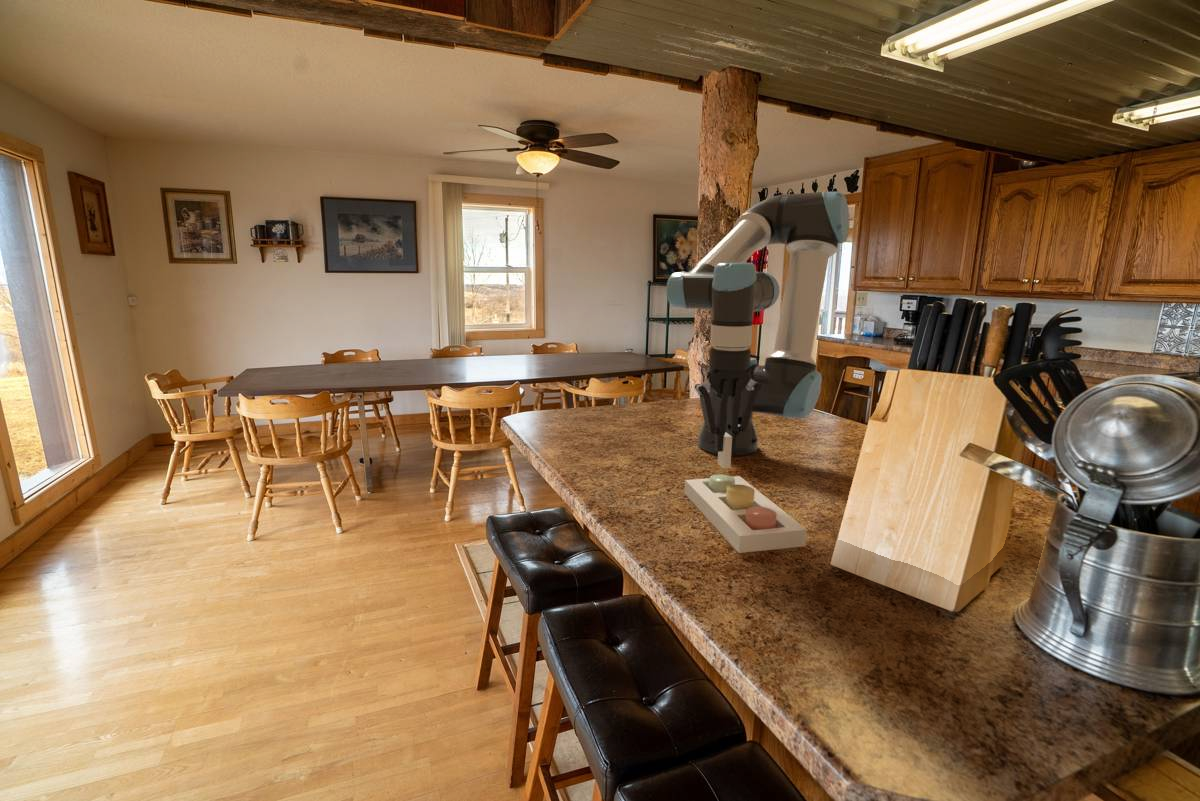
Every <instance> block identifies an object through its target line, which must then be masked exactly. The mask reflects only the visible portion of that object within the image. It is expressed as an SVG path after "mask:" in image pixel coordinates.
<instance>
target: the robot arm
mask: <svg viewBox="0 0 1200 801" xmlns="http://www.w3.org/2000/svg"><path fill="white" fill-rule="evenodd" d="M848 205H849V204H848V201H847V198H846V196H845V194H844V193H843V192H840V191H826V190H822V191H819V192H818V191H817V192H816V191H815V192H805V193H792V194H791V193H790V194H778V195H774V196H771V197H769V198H766V199H764V200H762V201H760V202H758V203H757V204H754V205H753V206H751V207H750V208H748V209H747V210H746V211H745V212H743V213H742V214H741V215H740V216H739V217H738V218H737V219H736V221H735V222H734V223H733V228H732V229H731V230H730V231H729V232H728V233H727V234H726V235H725V236H724V237H723V238H722V239H721V240H720V241H719V242H718V243H717V244H716V245H715V246H714V247H713V248H712V249H711V250H709V252H708V253H707V254H706V255H705V256H704V257H703V258H702V259H701V260H700V261H699V262H698V263H696V265H695V266H694V267H693V268H692V269H690V271H679V272H678V271H677V272H673V273H672V274H671V275H669V278H668V279H667V282H666V297H667V301H668V303H669V304H670V306H671V307H675V308H681V309H686V310H688V309H691V310H692V309H694V310H695V309H696V310H697V309H698V310H699V309H700V310H711V320H710V340H709V342H710V343H709V344H710V345H711V346H712V347H711V348H710V349H709V359H708V367H709V368H708V373H707V375H706V379H705V380H703V381H702V382H700V383H696V384H695V385H694V390H696V392H697V394H698V396H699V399H700V404H701V412H702V415H703V416H702V417H703V424H702V426H701V429H700V430H699V435H698V436H697V447H699V448H700V449H701V450H703V451H705V452H707V453H711V454H715V455H717V465H718V466H719V467H720V468H722V469H725V470H726V469H731V466H732V463H731V462H732V461H731V460H732V456H735V457H736V456H738V457H739V456H747V455H751V454H754V453H756V452H757V451H758V448H759V447H758V443H759V441H758V436H757V432H756V429H755V425H754V421H753V418H754V417H753V416H754V413H756V414H757V413H759V414H763V415H769V416H775V417H782V418H785V419H799V420H801V419H805V418H807V417H808V416H809V415H810V414H811V413H812V412H813V410H814V409H815V407H816V404H817V403H818V399H819V397H820V394H821V390H822V382H823V380H822V379H823V377H822V374H821V373H820V372H819V371H818V370H817V363H816V362H815V360H814V359H813V358H812V353H813V347H814V342H815V336H816V331H817V329H816V328H817V325H818V318H819V313H820V309H821V308H820V307H821V302H822V297H823V291H824V286H825V280H826V275H827V274H826V273H827V270H828V264H829V259H830V258H831V257H832V256H833V255H835V254H836V253H837V252H838V248H839V247H838V246H839V244H843V243H846V242H847V241H848V237H849V233H850V212H849V211H850V210H849V206H848ZM779 244H781V245H785V244H786V245H785V249H786V251H787V252H788V253H789V255H790V258H789V263H788V264H789V265H788V271H787V275H786V276H787V277H786V282H785V287H784V292H783V297H782V303H781V308H780V314H779V320H778V326H777V332H776V336H775V344H774V349H773V352H772V353H769V355H767V356H766V357H765V360H764V365H761V364H760V365H759V364H758V360H757V358H755V357H751V356H752V355H751V354H752V351H751V350H750V347H751V346H752V338H753V324H754V323H753V320H754V312H763V311H765V310H767V309H769V308H771V307H773V306H774V304H776V302H777V300H778V299H779V296H780V284H779V283H778V280H777V279H776V278H775V277H774V276H773V275H772V274H770V273H768V272H767V273H766V272H764V271H757V270H756V269H757V267H756V265H755V263H753V262H748V260H749V259H750V258H751V256H753V254H754V253H755V252H758V251H760V250H763V249H764V248H765V247H766V246H768V245H779Z"/></svg>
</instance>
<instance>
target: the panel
mask: <svg viewBox="0 0 1200 801" xmlns="http://www.w3.org/2000/svg"><path fill="white" fill-rule="evenodd" d="M732 477H733V478H734V479H735V485H736V484H738V485H746V486H749V487H751V488H753V489H754V490H755V493H754V506H753V507H765V508H768V509H771V510H773V511H775V512H776V514H777V516H776V527H775V528H772V529H762V530H752V529H751V528H750V527H749V526H748V525H746V524H745V519H746V510H747V509H741V510H735V509H732V508H729V507H728V506H727V505H726V492H721V493H713V492H712V491H711V490H710V489H709V478H694V479H684V492H683V493H684V495H685V496H686V498H688V499H689V500H690V502H692V504H693V505H694V506H695V507H696V508H697V509H698V511H699V512H700V513H701V514H702V515H703V516H704V517H705V518H706V519H707V520H708V521H709V522H710V524H711V525H712V526H713V527H714V528H715V529H716V531H717V532H719V533H720V535H722V537H723V538H724V539H725V540H726V541H727V542H728V543H729V544H730V546H732V548H733V549H734V550H735V552H737V554H743V553H753V552H760V551H761V552H762V551H763V552H765V551H773V550H782V549H784V550H785V549H793V548H802V547H806V546H807V545H806V543H807V534H808V529H807V528H806V527H804V526H803V525H802V524H801V523H800V522H798V521H797V520H796V519H794V518H793V517H792V516H791V515H790V514H788V513H787V512H785V511H784V510H783V509H782V508H780V507H779V506H778V505H777V504H776V503H775V502H773V501H772V500H770V499H769V498H768V497H767V496H765V495H764V494H762V493H761V492H760V490H758V489H756V488H755V487H754V486H753V485H752V484H750V483H749V482H747V481H746V480H745V479H744V478H743V477H742V476H740V475H736V476H732Z"/></svg>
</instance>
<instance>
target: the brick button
mask: <svg viewBox="0 0 1200 801" xmlns="http://www.w3.org/2000/svg"><path fill="white" fill-rule="evenodd" d="M776 516H777V514H776V512H775V511H773V510H771V509H768V508H765V507H750V508H748V509H747V510H746V519H745V524H746V525H748V526H749V527H750V528H751V529H752V530H762V529H772V528H775V527H776Z"/></svg>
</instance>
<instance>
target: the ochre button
mask: <svg viewBox="0 0 1200 801" xmlns="http://www.w3.org/2000/svg"><path fill="white" fill-rule="evenodd" d="M754 493H755V490H754V489H753V488H751V487H749V486H746V485H738V484H736V485H730V486H728V487H727V491H726V505H727V506H728V507H729V508H732V509H735V510H741V509H748V508H750V507H753V506H754Z"/></svg>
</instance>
